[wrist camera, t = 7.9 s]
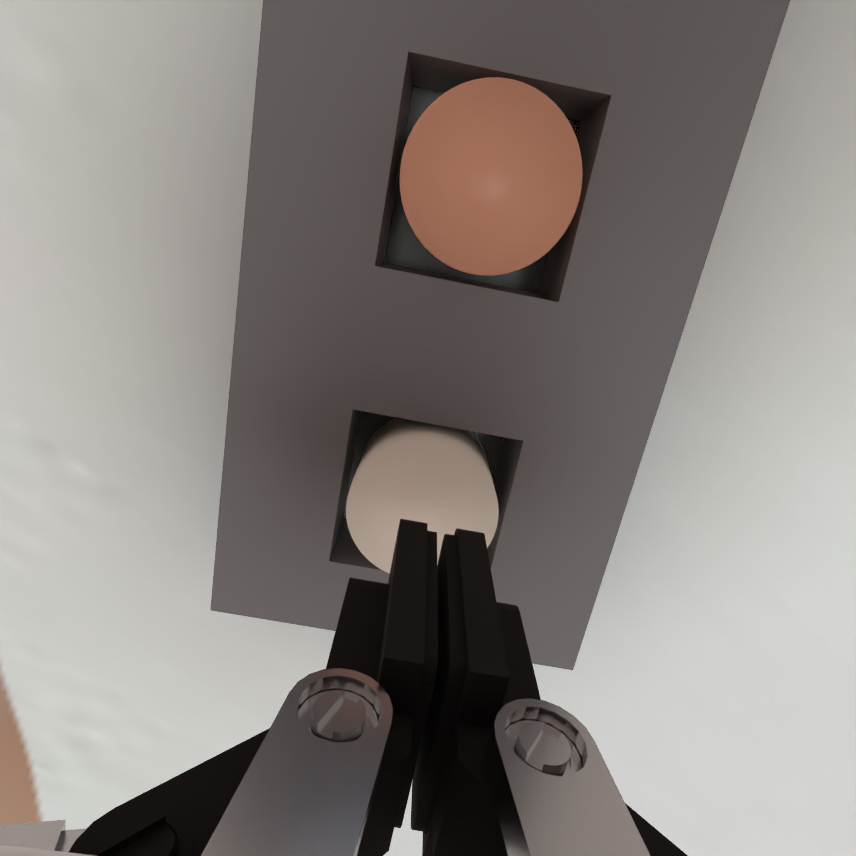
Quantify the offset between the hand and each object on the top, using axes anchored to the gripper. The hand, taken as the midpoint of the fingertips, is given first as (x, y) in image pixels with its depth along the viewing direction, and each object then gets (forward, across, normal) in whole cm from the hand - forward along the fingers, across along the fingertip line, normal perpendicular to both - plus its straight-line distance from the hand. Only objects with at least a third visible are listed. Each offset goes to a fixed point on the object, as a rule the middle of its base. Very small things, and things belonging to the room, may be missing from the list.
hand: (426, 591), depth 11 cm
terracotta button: (+8, 0, -8) cm, 12 cm away
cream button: (+8, 0, +1) cm, 8 cm away
